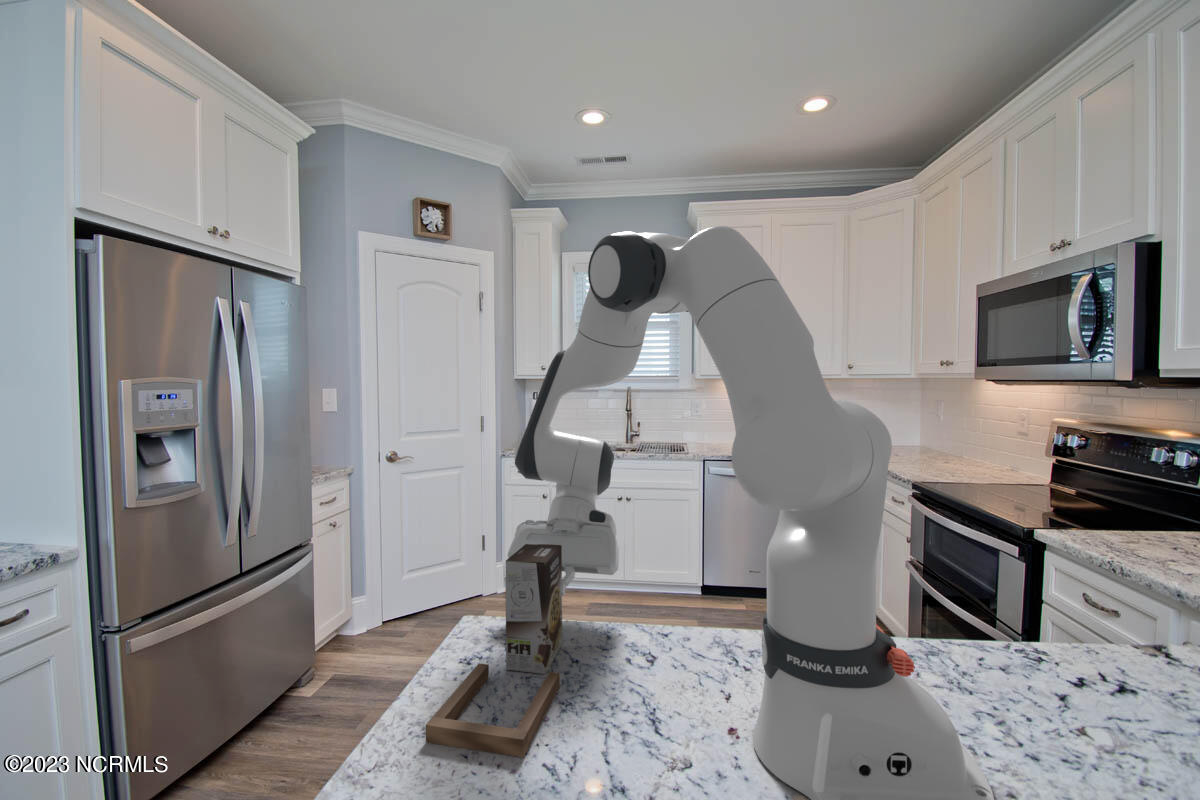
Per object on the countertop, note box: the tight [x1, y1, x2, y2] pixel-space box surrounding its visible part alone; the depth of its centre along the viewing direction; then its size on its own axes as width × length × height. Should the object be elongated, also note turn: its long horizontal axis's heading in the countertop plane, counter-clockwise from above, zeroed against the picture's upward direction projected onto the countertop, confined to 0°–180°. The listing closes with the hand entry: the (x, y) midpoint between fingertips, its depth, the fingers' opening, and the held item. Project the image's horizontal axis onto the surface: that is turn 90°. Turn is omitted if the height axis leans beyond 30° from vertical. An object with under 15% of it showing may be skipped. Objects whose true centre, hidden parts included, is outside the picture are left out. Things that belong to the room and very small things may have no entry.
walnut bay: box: [425, 663, 561, 758], centre depth 63 cm, size 12×14×2 cm
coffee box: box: [505, 544, 563, 675], centre depth 76 cm, size 9×6×16 cm
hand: (555, 593), depth 86 cm, fingers closed
